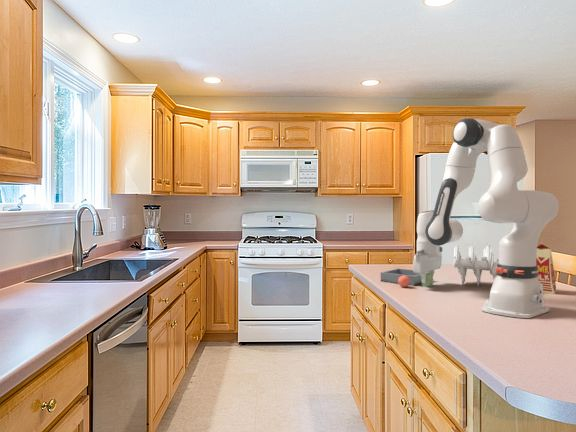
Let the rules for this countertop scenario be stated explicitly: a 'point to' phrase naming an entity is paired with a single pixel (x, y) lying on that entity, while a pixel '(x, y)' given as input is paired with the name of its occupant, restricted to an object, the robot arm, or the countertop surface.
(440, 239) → the robot arm
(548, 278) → the milk carton
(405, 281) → the tomato ball
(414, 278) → the bin
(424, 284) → the cucumber chunk
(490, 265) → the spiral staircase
